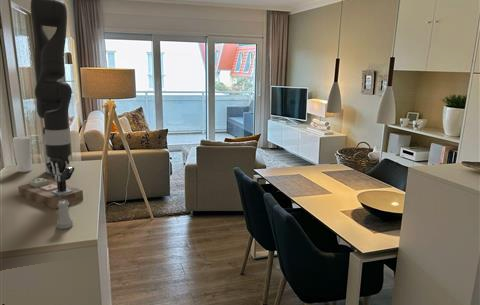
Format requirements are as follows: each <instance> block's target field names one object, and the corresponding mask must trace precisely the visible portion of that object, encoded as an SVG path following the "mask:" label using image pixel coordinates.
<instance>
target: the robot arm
mask: <svg viewBox="0 0 480 305" xmlns="http://www.w3.org/2000/svg"><path fill="white" fill-rule="evenodd" d="M30 16H31V23H32V24H31V25H32V31H33V33H32V34H33V42H34V43H33V44H34V67H35V68H34V69H35V70H34V71H35V77H36V78H35V79H36V80H35V81H36V85H35V88H34V97H35V98H36V112H37V115H38V116H39V118H41V119H43V123H44V127H43V128H42V136H43V143H44V145H43V146H44V150H43V153H44V154H43V155H44V164H45V172H46V173H47V174H49V175H51V176H50V177H52V178H53V179H55V180H54V181H56V182H57V188H58V191H60V192H62V191H65V190H66V185H67V181H68V180H70V179H71V178H72V176H73V173H74V171H75V167H74V166H71V164H70V156H71V155H72V144H71V134H70V129H69V117H68V116H69V108H70V104H71V100H72V96H73V95H72V94H73V89H72V87H71V85H70V84H69V83H68V82H66V81H58V80H61V79H63V78H64V77H65V74H66V72H65V71H66V66H65V49H66V46H65V45H66V38H67V27H68V10H67V6H66V4H65V2H64V1H62V0H30ZM44 27H50V28H56V30H55V33H54V34H52V36H51V37H50V39H49V37H48V35H47V33H46V31H45V29H44Z"/></svg>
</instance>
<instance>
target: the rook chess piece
mask: <svg viewBox="0 0 480 305" xmlns="http://www.w3.org/2000/svg"><path fill="white" fill-rule="evenodd" d="M69 205H70V204H69V202H68V201H67V200H66V201H65V200H63V201H62V200H60V201H58V204H57V206H58V207H59V208H57V210H58V212H59V213H58V218H57V221H56V228H57V229H59V230H67V229H70V228H72V227H73V225H74V222H73V221H74V220H73V219H72V217H71V216H70V213H69V212H70V211H69V209H70V207H69Z"/></svg>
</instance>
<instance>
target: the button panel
mask: <svg viewBox="0 0 480 305" xmlns="http://www.w3.org/2000/svg"><path fill="white" fill-rule="evenodd" d="M46 180H48V185H51V184H53V185H56V186H57V181H56V180H53V179H49V178H46ZM44 186H47V185H44ZM44 186H40V187H44ZM40 187H37V188H36V187H33V186H30V185H29V183H26V184H23V185H18V186H17V188H18V190H17V191H18V196H19V197H21V198H24V199H27V200H29V201H32V202H35V203H37V204H40V205H43V206H45V207H48V208H50V209H52V210H55V209H59V207H58V206H57V204H58V201H60V200H62V201H63V200H65V201H66V200H67V201H68V202H69V205H70V204H73V203H76V202H79V201H82V200H84V192H83V189H81V188H80V189H79V188H77V187H73V186H70V185H68V184H66V189H69V190H72V192H71V193H68V194H65V195H61V196H58V195H55V194H53V193H52V191H55V190H58V189H55V190H52V191H48V192H47V191H44V190H41V188H40Z"/></svg>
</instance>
